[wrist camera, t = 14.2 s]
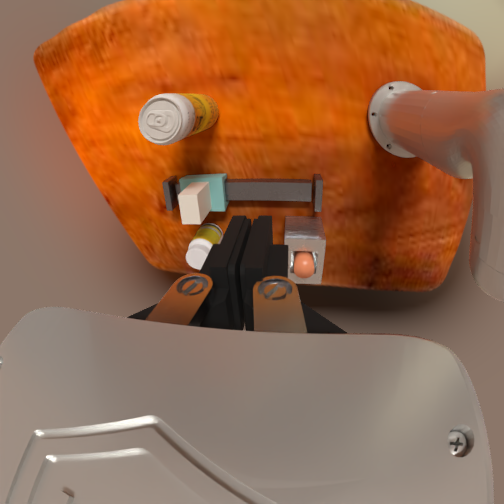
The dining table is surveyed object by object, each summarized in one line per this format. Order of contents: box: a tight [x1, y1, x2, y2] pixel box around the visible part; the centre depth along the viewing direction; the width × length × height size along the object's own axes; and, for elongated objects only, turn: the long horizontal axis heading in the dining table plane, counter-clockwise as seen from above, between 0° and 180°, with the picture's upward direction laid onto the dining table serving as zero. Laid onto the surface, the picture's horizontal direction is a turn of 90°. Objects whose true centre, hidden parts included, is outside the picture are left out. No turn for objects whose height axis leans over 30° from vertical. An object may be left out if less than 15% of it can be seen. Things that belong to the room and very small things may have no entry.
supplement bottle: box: [186, 223, 223, 269], centre depth 46 cm, size 5×5×8 cm
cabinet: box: [284, 216, 326, 284], centre depth 44 cm, size 6×8×8 cm
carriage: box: [178, 174, 229, 224], centre depth 40 cm, size 7×6×9 cm
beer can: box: [139, 94, 218, 145], centre depth 32 cm, size 6×6×15 cm
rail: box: [162, 174, 323, 212], centre depth 42 cm, size 25×5×4 cm, turn 93°
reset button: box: [294, 251, 315, 278], centre depth 40 cm, size 3×3×4 cm
